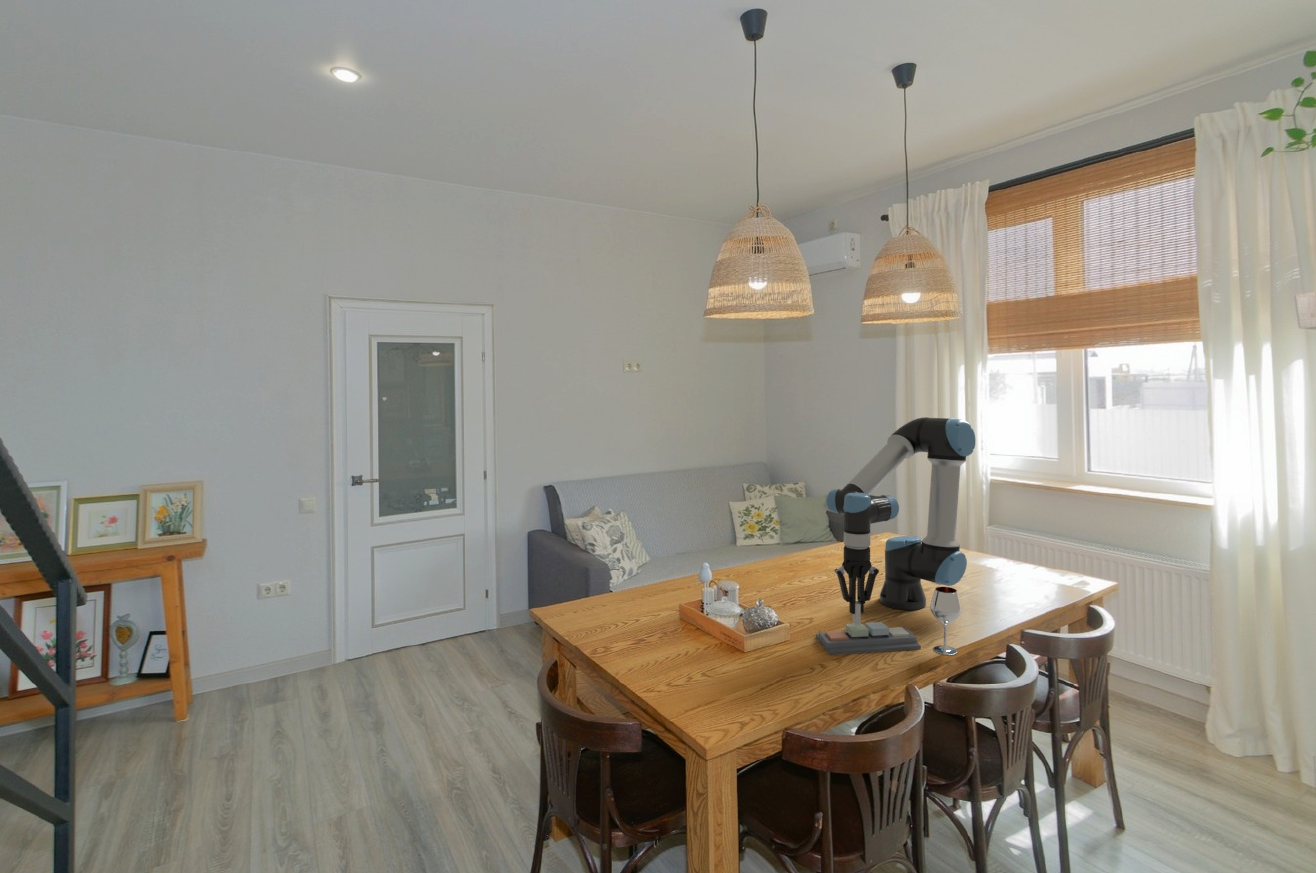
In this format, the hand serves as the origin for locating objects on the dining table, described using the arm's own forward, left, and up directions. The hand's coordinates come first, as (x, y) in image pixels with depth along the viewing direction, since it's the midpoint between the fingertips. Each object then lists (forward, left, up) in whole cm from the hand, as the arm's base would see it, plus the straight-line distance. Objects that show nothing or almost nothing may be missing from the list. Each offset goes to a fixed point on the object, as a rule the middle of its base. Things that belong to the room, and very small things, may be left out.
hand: (856, 623), depth 199 cm
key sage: (0, 0, -3) cm, 3 cm away
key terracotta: (+4, -4, -5) cm, 8 cm away
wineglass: (-10, +22, -6) cm, 25 cm away
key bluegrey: (-5, +4, -3) cm, 7 cm away
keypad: (-2, +2, -6) cm, 7 cm away
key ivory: (-9, +9, -5) cm, 14 cm away
